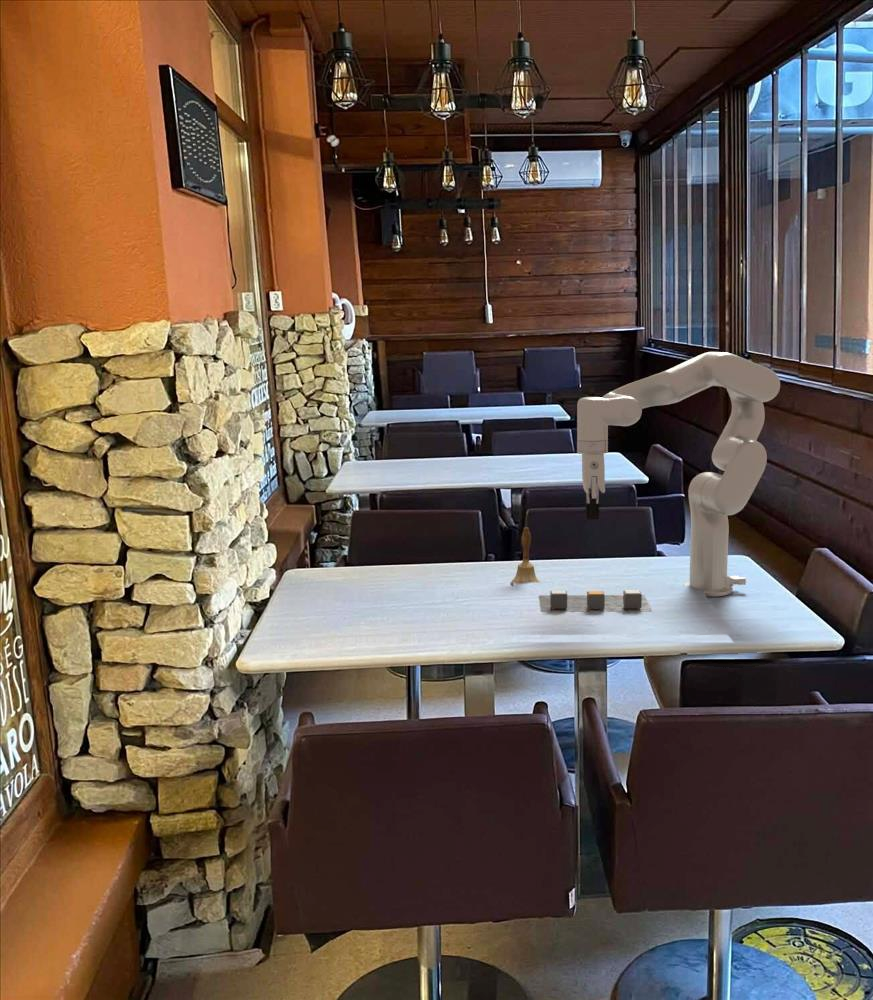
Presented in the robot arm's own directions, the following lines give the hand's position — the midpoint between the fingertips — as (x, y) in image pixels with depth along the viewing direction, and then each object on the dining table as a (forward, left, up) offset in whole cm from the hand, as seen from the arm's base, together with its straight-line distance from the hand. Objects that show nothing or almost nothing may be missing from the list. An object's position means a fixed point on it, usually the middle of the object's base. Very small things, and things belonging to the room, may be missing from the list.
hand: (592, 518), depth 239 cm
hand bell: (+17, -18, -22) cm, 33 cm away
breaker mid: (0, +11, -21) cm, 23 cm away
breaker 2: (-9, +10, -21) cm, 24 cm away
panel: (0, +6, -22) cm, 23 cm away
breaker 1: (+9, +10, -21) cm, 24 cm away
